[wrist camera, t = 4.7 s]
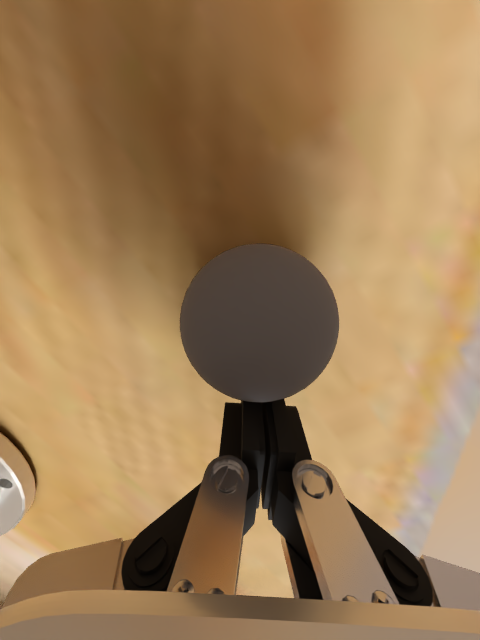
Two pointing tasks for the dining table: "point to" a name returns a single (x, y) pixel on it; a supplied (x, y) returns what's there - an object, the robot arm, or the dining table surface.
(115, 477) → the dining table surface
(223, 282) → the grey rounded piece
